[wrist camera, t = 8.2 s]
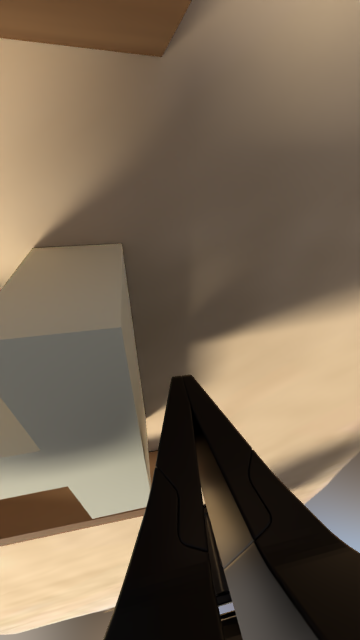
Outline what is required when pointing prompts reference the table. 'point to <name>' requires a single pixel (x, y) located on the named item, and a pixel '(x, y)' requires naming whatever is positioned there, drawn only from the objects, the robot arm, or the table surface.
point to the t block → (72, 381)
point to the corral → (104, 34)
